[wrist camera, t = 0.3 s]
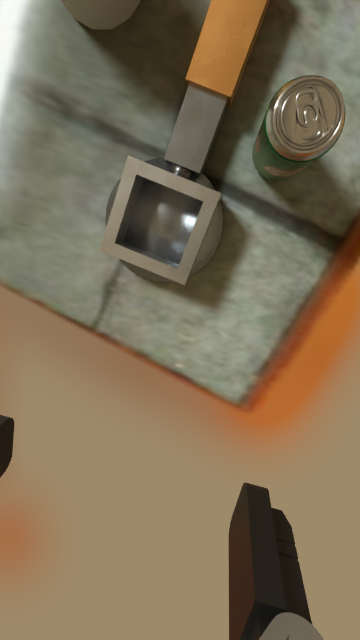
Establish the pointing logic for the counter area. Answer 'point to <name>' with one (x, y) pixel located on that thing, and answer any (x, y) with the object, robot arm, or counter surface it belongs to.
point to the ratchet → (184, 160)
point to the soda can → (298, 127)
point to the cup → (101, 12)
